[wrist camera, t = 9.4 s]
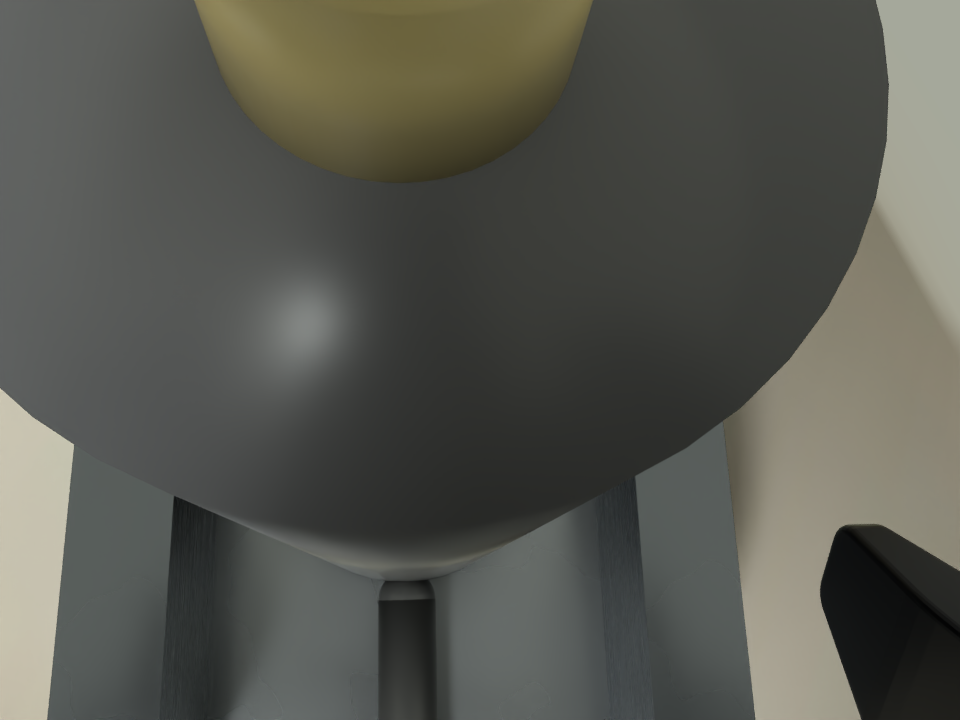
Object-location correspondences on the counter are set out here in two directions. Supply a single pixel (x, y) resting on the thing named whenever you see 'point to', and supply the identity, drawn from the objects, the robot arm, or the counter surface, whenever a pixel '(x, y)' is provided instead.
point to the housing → (354, 612)
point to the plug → (419, 253)
